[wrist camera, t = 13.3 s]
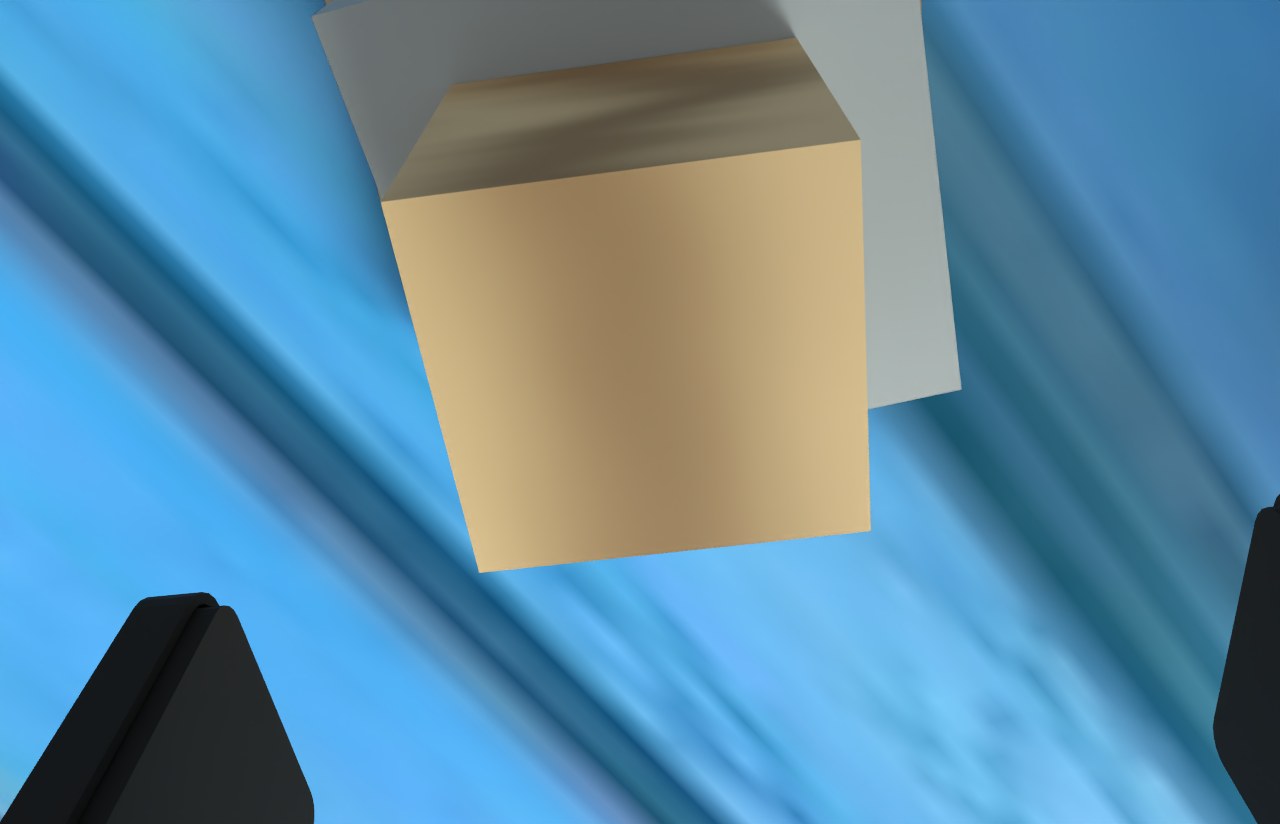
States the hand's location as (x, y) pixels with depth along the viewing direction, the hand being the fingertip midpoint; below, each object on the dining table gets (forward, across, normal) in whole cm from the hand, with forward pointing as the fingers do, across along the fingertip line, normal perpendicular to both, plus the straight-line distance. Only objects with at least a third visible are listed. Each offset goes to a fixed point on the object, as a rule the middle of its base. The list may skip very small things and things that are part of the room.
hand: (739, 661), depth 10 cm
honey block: (+11, +1, 0) cm, 11 cm away
